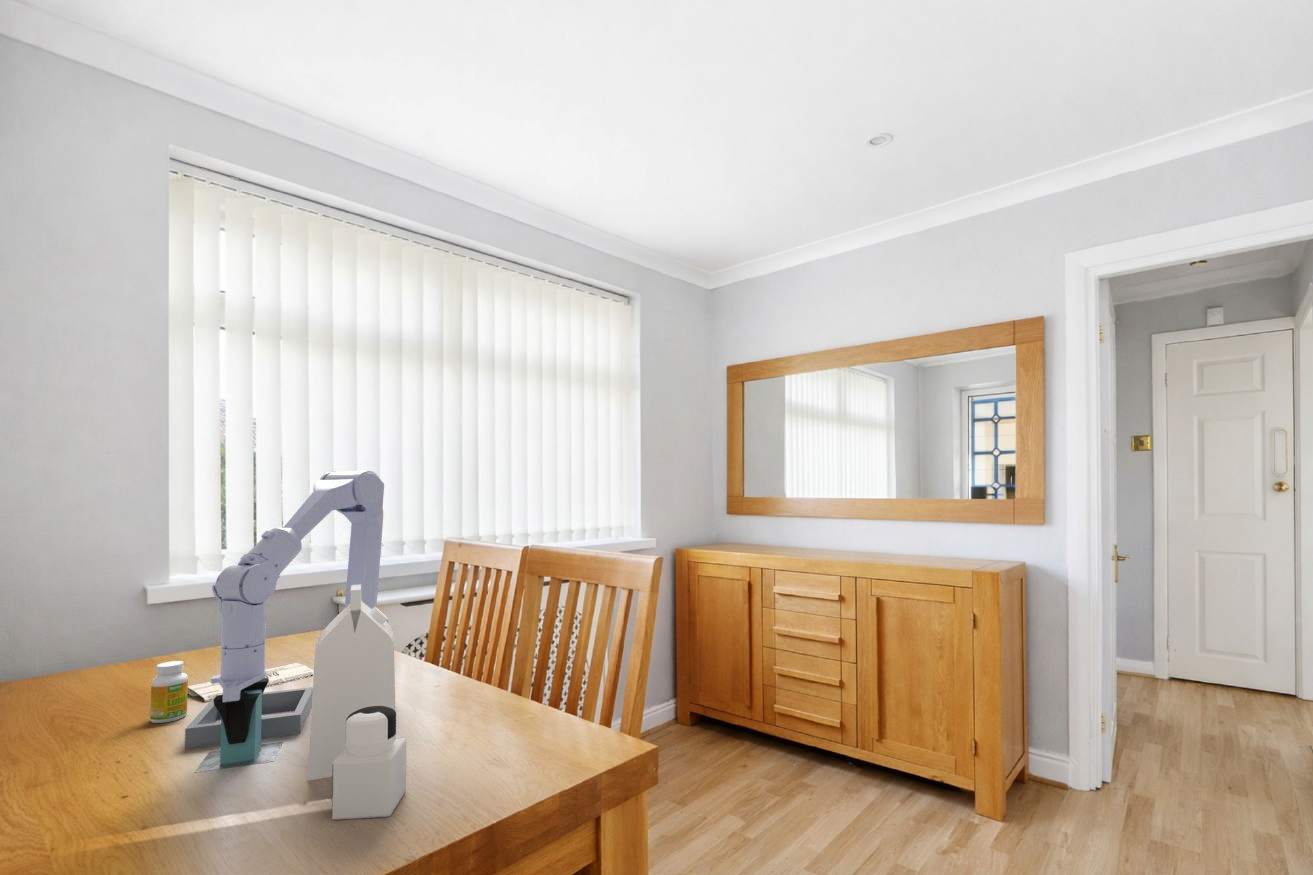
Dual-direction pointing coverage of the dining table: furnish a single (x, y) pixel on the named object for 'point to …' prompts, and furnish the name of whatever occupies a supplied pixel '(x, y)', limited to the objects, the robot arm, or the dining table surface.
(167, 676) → the supplement bottle
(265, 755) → the stud plate
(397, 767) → the medicine bottle
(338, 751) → the milk
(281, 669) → the newspaper
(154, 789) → the dining table surface
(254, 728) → the strut
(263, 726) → the bin
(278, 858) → the dining table surface
